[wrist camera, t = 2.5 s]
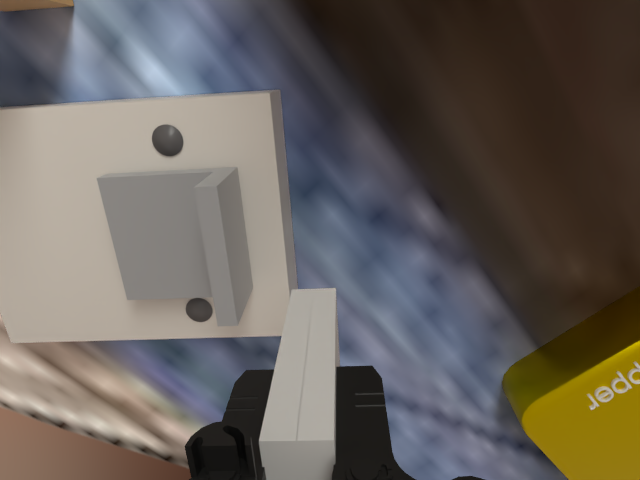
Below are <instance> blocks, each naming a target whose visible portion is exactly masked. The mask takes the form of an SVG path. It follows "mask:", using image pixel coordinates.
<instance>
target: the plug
mask: <svg viewBox="0 0 640 480" xmlns="http://www.w3.org/2000/svg"><path fill="white" fill-rule="evenodd" d="M71 6H74V4H73V0H0V11H4V12H7V11H20V10H32V9H45V8H58V7H71Z"/></svg>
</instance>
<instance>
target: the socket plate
mask: <svg viewBox="0 0 640 480" xmlns="http://www.w3.org/2000/svg"><path fill="white" fill-rule="evenodd" d="M225 167H237V168H238V175H239V183H240V190H241V198H242V206H243V213H244V221H245V229H246V236H247V244H248V251H249V259H250V267H251V274H252V282H253V290H252V292H251V294H250V297H249V299H248V302H247V304H246V307H245V309H244V312H243V314H242V317H241V319H240V322H239V324H238V326H218V325H217V319H216V313H215V307H214V302H213V297H207V298H177V299H146V300H127V297H126V293H125V289H124V285H123V281H122V277H121V273H120V269H119V265H118V261H117V257H116V253H115V249H114V245H113V241H112V238H111V234H110V230H109V226H108V222H107V218H106V214H105V210H104V206H103V202H102V198H101V194H100V190H99V186H98V182H97V178H98V177H100V176H102V175H105V174H110V173H130V172H149V171H168V170H187V169H206V168H225ZM295 289H298V282H297V271H296V260H295V248H294V237H293V226H292V215H291V204H290V192H289V181H288V170H287V159H286V148H285V136H284V125H283V114H282V103H281V92H280V89H279V90H263V91H247V92H231V93H216V94H200V95H184V96H168V97H153V98H137V99H121V100H105V101H90V102H74V103H58V104H43V105H27V106H11V107H0V314H1V317H2V320H3V322H4V325H5V328H6V330H7V333H8V336H9V338H10V341H11V343H35V342H73V341H110V340H148V339H186V338H224V337H261V336H282V332H283V328H284V323H285V319H286V314H287V310H288V305H289V300H290V296H291V291H292V290H295Z"/></svg>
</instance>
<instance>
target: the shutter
mask: <svg viewBox="0 0 640 480" xmlns="http://www.w3.org/2000/svg"><path fill="white" fill-rule="evenodd" d="M97 182H98V186H99V190H100V194H101V198H102V202H103V206H104V210H105V214H106V218H107V222H108V226H109V230H110V234H111V238H112V241H113V245H114V249H115V253H116V257H117V261H118V265H119V269H120V273H121V277H122V281H123V285H124V289H125V293H126V297H127V300H146V299H177V298H207V297H213V302H214V307H215V313H216V319H217V325H218V326H238V324H239V322H240V319H241V317H242V314H243V312H244V309H245V307H246V304H247V302H248V299H249V297H250V294H251V292H252V290H253V282H252V274H251V267H250V259H249V251H248V244H247V236H246V229H245V221H244V213H243V206H242V198H241V190H240V183H239V175H238V168H237V167H225V168H206V169H187V170H168V171H149V172H130V173H110V174H105V175H102V176H100V177H98V178H97Z"/></svg>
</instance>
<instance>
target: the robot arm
mask: <svg viewBox="0 0 640 480" xmlns="http://www.w3.org/2000/svg"><path fill="white" fill-rule="evenodd" d="M185 450H186V455H187V459H188V464H189V468H190V473H191V477H192V478H191V479H189V480H416V479H414V478H412V477H411V476H409V475H408V474H406V473H405V472H404V471H403V470H402V469H401V468H400V467H399V466H398V464H397V462H396V461H395V459H394V456H393V453H392V447H391V440H390V433H389V426H388V419H387V412H386V407H385V398H384V391H383V384H382V378H381V376H380V375H379V374H378V373H377V371H376V370H375V369H374V367H373V366H345V367H340V360H339V338H338V319H337V300H336V288H323V289H295V290H292V291H291V296H290V300H289V305H288V310H287V314H286V319H285V323H284V328H283V332H282V337H281V342H280V346H279V351H278V355H277V360H276V365H275V369H274V370H246V371H245V372H244V373H243V374H242V376H241V377H240V378H239V379H238V380H237V381H236V382H235V384H234V387H233V390H232V393H231V396H230V400H229V402H228V405H227V408H226V411H225V413H224V416H223V419H222V422H215V423H212V424H210V425H207V426H205V427H203V428H201V429H200V430H198V431H197V432H196V433H195V434H194V435H192V436H191V437H190V439H189V441H188V442H187V444H186V445H185ZM453 480H485V479H481V478H477V477H473V476H463V477H457V478H455V479H453Z"/></svg>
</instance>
